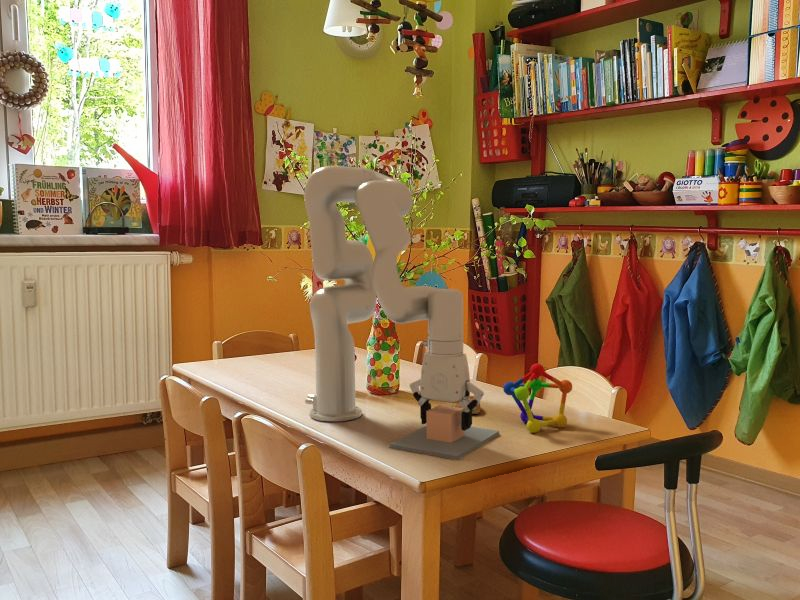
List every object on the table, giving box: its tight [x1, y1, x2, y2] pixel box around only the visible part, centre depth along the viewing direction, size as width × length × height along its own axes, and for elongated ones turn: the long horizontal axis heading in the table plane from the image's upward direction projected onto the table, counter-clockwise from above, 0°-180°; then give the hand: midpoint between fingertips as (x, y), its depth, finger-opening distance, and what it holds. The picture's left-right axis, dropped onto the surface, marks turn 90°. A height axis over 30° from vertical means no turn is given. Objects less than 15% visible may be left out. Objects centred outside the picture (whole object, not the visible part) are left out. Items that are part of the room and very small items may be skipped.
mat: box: [389, 425, 500, 461], centre depth 158 cm, size 16×20×1 cm
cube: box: [425, 404, 464, 443], centre depth 157 cm, size 6×6×6 cm
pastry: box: [450, 395, 482, 415], centre depth 182 cm, size 9×7×4 cm
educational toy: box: [502, 363, 573, 434], centre depth 167 cm, size 16×13×15 cm
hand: (445, 425), depth 157 cm, fingers open, 9 cm apart
